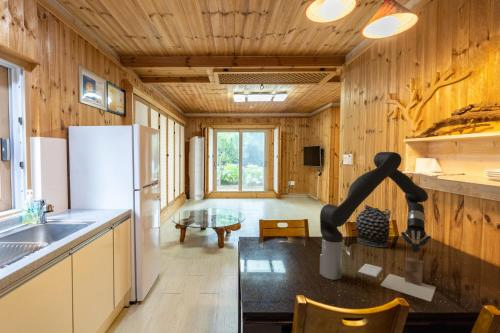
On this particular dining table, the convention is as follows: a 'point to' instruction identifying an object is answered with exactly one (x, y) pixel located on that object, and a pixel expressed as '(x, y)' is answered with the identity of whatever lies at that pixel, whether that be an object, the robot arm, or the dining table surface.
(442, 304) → the dining table surface
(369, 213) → the dark studded dome
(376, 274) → the external hard drive
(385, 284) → the mat
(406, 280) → the card box
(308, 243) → the dining table surface
